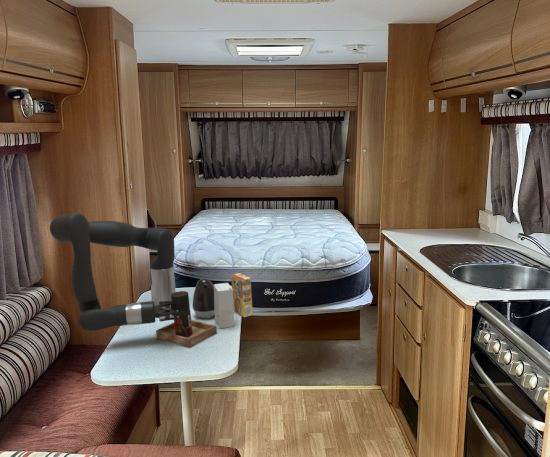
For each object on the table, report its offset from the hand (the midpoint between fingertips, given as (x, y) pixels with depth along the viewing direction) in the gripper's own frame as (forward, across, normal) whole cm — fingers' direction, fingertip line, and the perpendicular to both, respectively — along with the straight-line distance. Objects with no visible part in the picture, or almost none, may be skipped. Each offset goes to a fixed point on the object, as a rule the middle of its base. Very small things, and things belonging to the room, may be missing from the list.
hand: (189, 308), depth 179 cm
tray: (-1, +1, +10) cm, 11 cm away
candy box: (+21, +16, +11) cm, 28 cm away
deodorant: (-2, 0, +10) cm, 10 cm away
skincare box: (+13, +7, +11) cm, 18 cm away
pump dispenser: (+7, +18, +11) cm, 22 cm away
